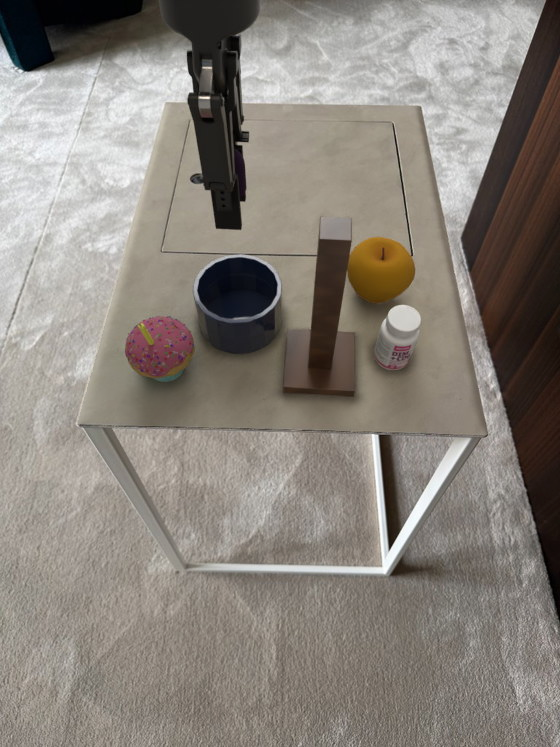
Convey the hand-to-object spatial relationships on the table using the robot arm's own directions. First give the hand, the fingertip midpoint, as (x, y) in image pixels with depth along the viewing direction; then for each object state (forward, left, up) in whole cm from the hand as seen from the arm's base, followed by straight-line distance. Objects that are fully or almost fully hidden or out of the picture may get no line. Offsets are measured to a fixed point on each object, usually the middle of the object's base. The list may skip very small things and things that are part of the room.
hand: (231, 212), depth 58 cm
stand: (+11, -7, -19) cm, 23 cm away
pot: (0, 0, -19) cm, 19 cm away
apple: (+18, +6, -19) cm, 27 cm away
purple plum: (0, 0, +3) cm, 3 cm away
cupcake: (-9, -8, -19) cm, 23 cm away
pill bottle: (+20, -5, -19) cm, 29 cm away
